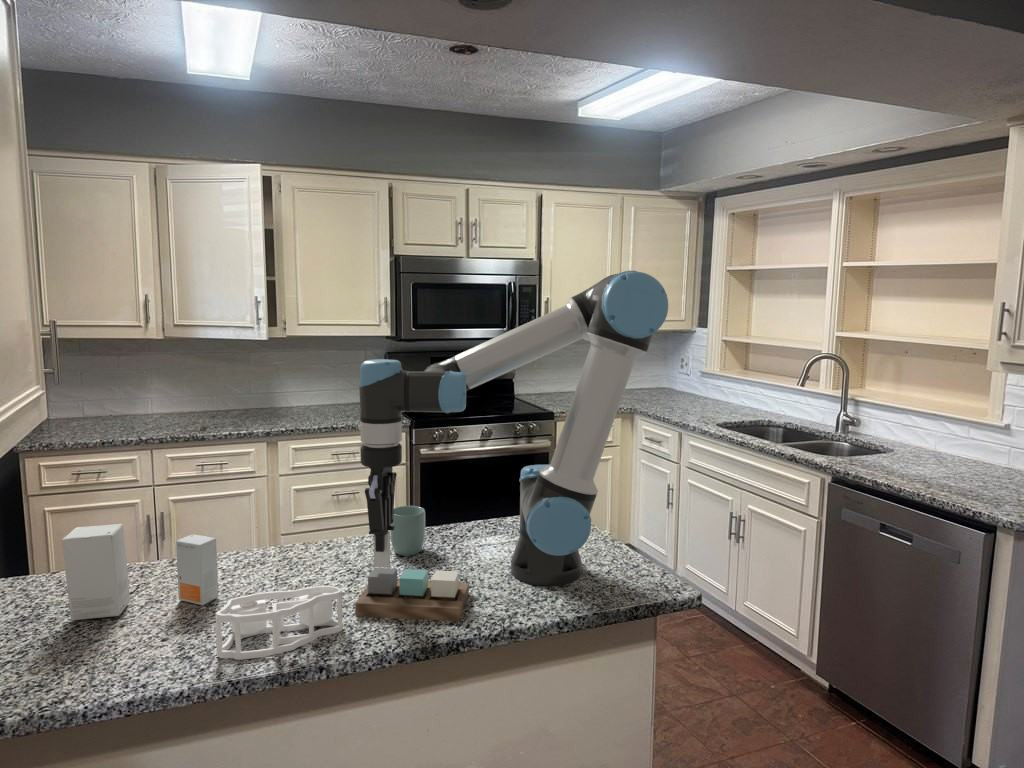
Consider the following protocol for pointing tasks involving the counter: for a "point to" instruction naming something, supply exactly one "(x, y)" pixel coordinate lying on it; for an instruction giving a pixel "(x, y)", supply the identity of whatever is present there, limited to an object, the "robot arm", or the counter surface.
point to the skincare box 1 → (96, 571)
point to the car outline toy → (278, 619)
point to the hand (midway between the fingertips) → (382, 565)
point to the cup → (408, 530)
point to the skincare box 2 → (197, 569)
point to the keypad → (412, 605)
